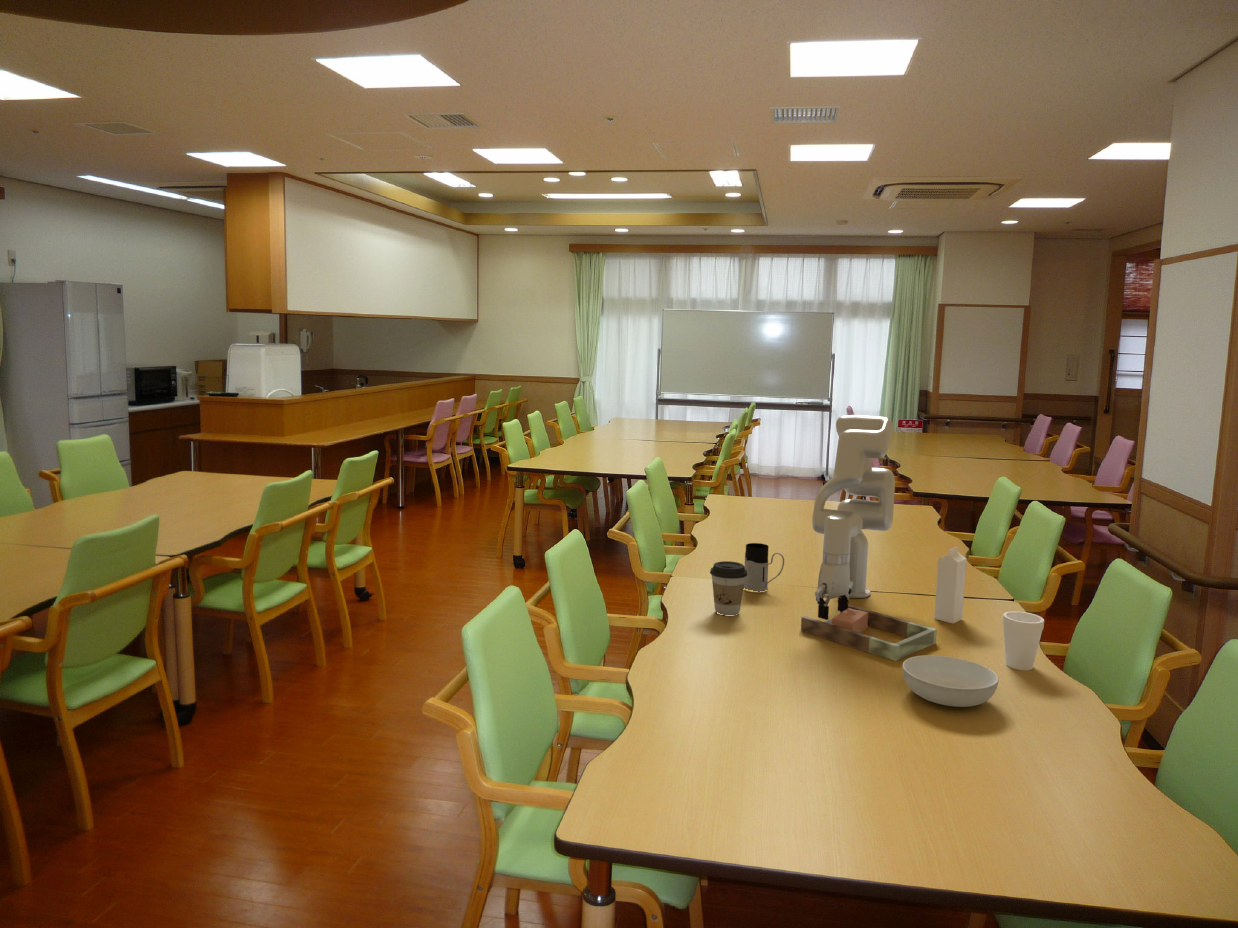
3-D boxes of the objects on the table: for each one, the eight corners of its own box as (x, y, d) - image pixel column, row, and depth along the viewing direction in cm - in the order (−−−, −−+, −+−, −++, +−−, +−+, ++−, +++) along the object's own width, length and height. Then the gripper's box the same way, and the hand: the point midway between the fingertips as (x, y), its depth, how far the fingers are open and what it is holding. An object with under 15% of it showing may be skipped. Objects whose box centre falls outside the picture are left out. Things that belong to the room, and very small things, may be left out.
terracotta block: (831, 635, 235) (832, 618, 234) (847, 624, 244) (848, 607, 243) (851, 639, 231) (852, 622, 230) (867, 628, 240) (868, 612, 240)
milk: (962, 619, 249) (968, 548, 246) (952, 624, 245) (959, 551, 242) (942, 614, 254) (948, 544, 251) (933, 618, 250) (939, 547, 247)
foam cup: (1039, 662, 216) (1043, 614, 214) (1040, 675, 207) (1045, 625, 206) (999, 656, 220) (1003, 609, 218) (998, 668, 211) (1003, 619, 210)
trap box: (800, 630, 237) (801, 617, 237) (842, 615, 251) (843, 603, 251) (895, 661, 215) (896, 646, 215) (935, 643, 229) (936, 629, 228)
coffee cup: (704, 615, 249) (705, 567, 247) (714, 605, 260) (715, 558, 257) (741, 620, 245) (742, 571, 243) (749, 609, 255) (751, 562, 253)
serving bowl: (1009, 698, 193) (1011, 670, 192) (976, 727, 178) (979, 697, 177) (922, 673, 207) (924, 647, 206) (885, 698, 192) (886, 670, 191)
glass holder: (749, 583, 283) (751, 541, 281) (788, 591, 275) (790, 547, 273) (737, 589, 276) (739, 546, 274) (776, 597, 268) (778, 552, 266)
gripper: (842, 551, 247) (839, 606, 250) (807, 560, 236) (804, 617, 238) (864, 556, 242) (860, 612, 244) (829, 565, 230) (826, 624, 233)
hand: (832, 614), depth 241 cm, fingers open, 9 cm apart
